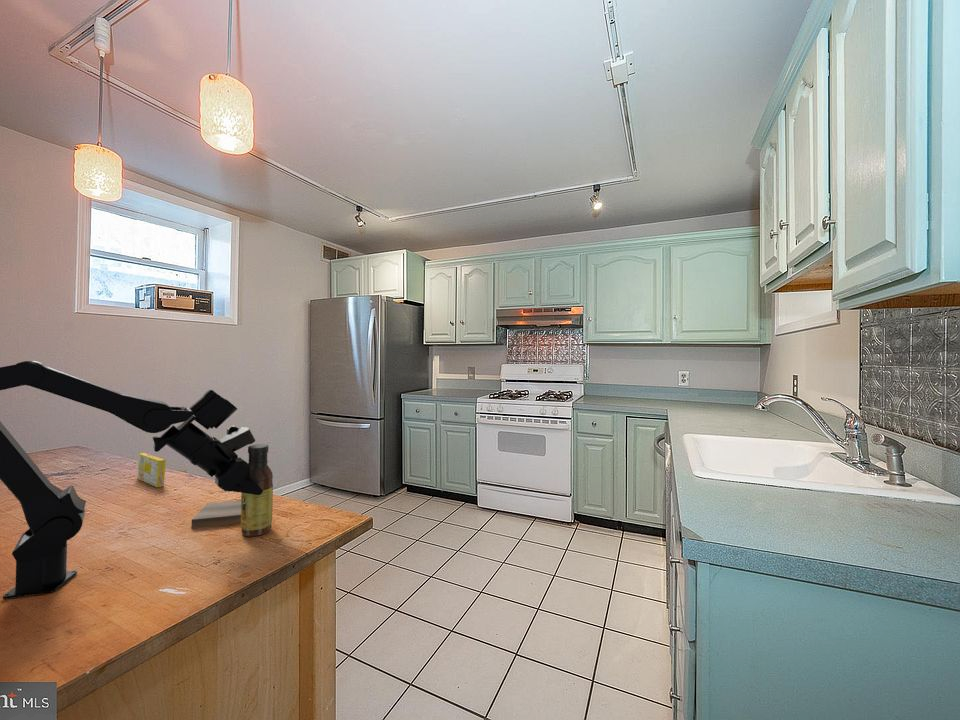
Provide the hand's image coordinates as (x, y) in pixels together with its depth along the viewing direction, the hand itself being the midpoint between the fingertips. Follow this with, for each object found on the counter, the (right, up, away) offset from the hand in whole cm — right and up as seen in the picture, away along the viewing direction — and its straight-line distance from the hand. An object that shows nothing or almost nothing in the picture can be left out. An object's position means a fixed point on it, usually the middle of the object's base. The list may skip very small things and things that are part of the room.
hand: (256, 487), depth 89 cm
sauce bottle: (0, -10, 0) cm, 10 cm away
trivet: (-12, -10, +9) cm, 18 cm away
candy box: (-53, -10, +34) cm, 63 cm away
